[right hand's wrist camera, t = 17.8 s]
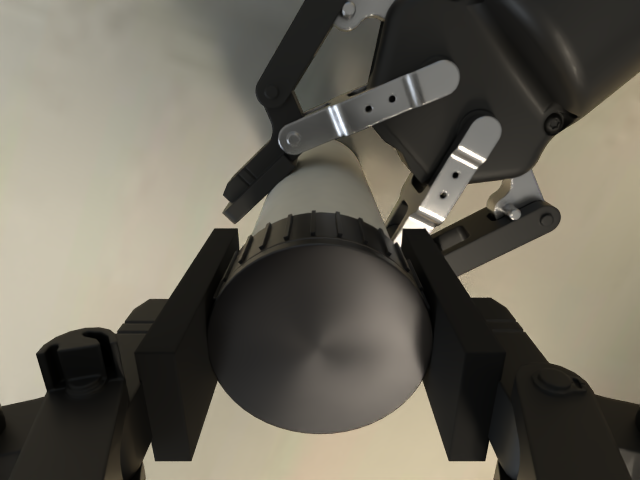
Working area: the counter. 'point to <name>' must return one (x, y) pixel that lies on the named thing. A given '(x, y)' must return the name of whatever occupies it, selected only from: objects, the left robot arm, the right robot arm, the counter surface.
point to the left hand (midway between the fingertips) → (278, 254)
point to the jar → (322, 188)
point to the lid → (320, 325)
